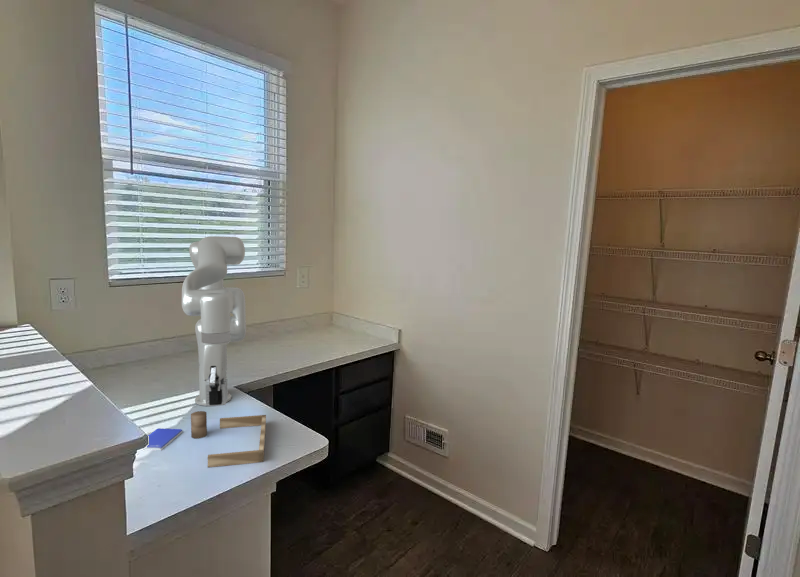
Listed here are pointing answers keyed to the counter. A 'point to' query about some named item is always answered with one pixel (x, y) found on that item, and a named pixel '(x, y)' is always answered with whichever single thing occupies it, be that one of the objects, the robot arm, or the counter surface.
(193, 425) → the cylinder
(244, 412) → the counter surface
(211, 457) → the corral
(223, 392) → the block
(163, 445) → the hard drive
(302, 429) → the counter surface
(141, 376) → the counter surface
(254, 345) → the counter surface
